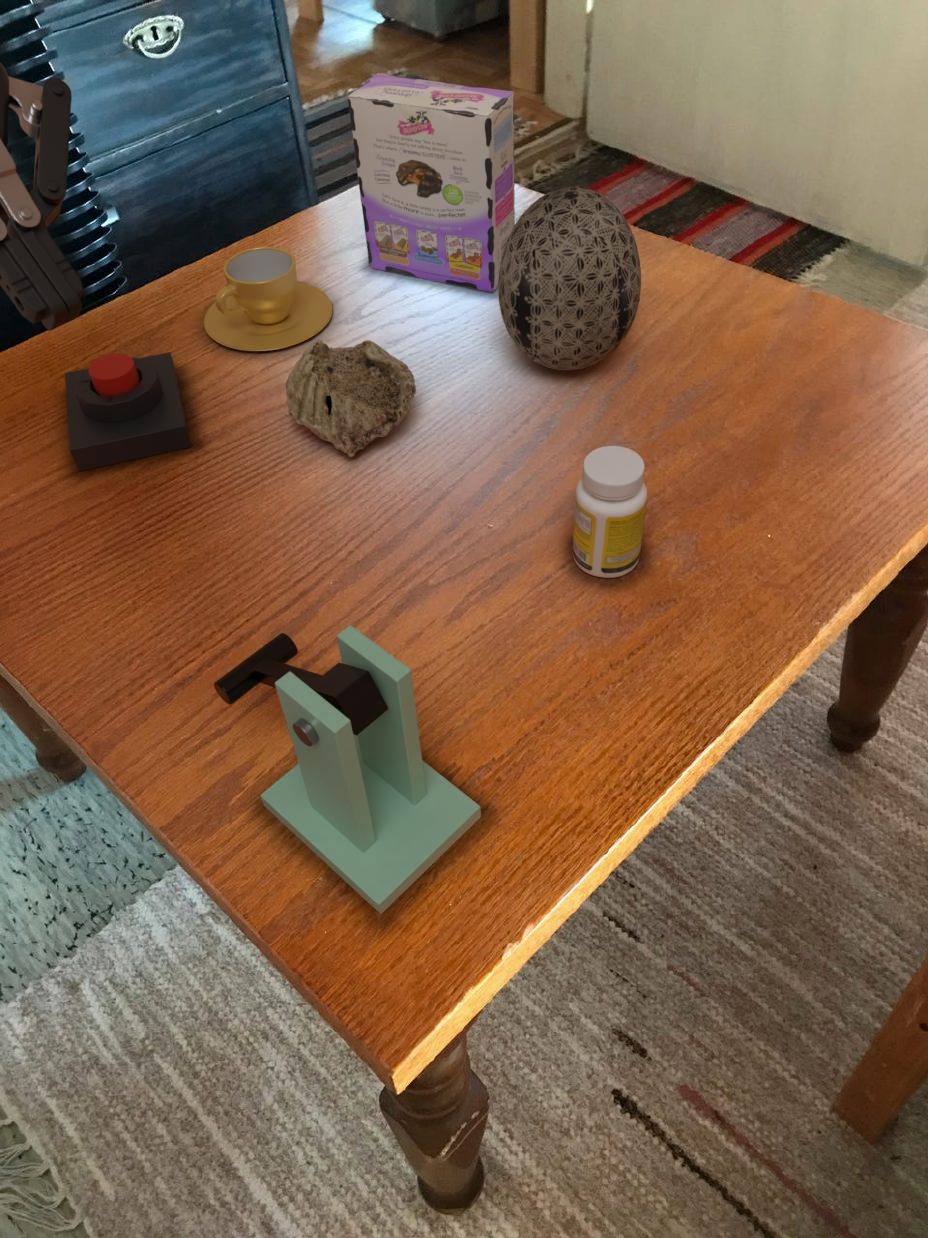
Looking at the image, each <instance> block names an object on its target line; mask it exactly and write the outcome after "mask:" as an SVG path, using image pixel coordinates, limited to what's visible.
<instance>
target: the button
mask: <svg viewBox="0 0 928 1238" xmlns="http://www.w3.org/2000/svg"><path fill="white" fill-rule="evenodd" d="M131 357H132V356H130V355H128V354H125V353H122V352H121V353H120V352H119V353H117V352H116V353H108V354H105V355H102V356H100V357H98V358H96V359H94V360H93V361H92V362H91V363H90V365H89V366H88V368H89V369H88V368H87V369H88V372H89V375H90V378H91V380H92V383H93V385H94V388H95V390H96V392H97V393H98V394H100V395H105V396H114V395H119V394H124V393H126V392H128V391H130V390H132V389H133V388H135V387H137V386H138V384H139V375H138V372H137V370H136V367H135V364H134V361H133V359H132V358H133V357H132V358H131Z"/></svg>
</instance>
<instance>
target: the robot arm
mask: <svg viewBox="0 0 928 1238" xmlns="http://www.w3.org/2000/svg"><path fill="white" fill-rule="evenodd" d="M10 109H12V110H13V111H14V112H15V114H17V116H18V119H19V125H20V128H21V129H22V131H23V132H25V133H26V135H27V136H28V137H30V138H32V139H34V138H35V151H34V152H35V153H34V171H33V187H32V188H31V189H30V190H29V191H28V189H27V188H26V186H25V184H24V183H23V181H22V179H21V178H20V176H19V173H18V169H17V165H16V163H15V161H14V159H13V157H12V155H11V153H10V151H8V147H9V146H8V145H9V125H10V124H9V123H10V122H9V121H10V119H9V117H10V114H9V113H10ZM71 113H72V90H71V87H70V86H69V85H68V83H67V82H65V81H64V80H62V79H60V78H57V77H50V78H48V79H46V80H45V81H44V83H43V86H42V85H40V84H36V83H32V82H30V81H26V80H23V79H19V78H16V77H12V76H10V75H8V72H7V70H6V68H5V66H4V65H3V64H2V63H1V62H0V286H1V288H2V290H3V291H4V292H5V294H6V295H7V296H8V297H9V299H10V301H11V302H12V303H13V304H14V306H15V307H16V309H17V310H18V312H19V313H20V315H21V316H22V317H23V318H24V319H26V320H27V321H28V322H30V323H31V324H33V325H35V324H38V323H39V322H41V324H42V325H43V326H44V328H45V329H46V330H48V331H49V332H52V331H53V330H55V329H58V328H60V327H62V326H63V325H66V324H68V323H69V322H72V321H74V320H76V319H78V318H79V315H80V313H81V310H82V308H83V303H82V300H81V299H82V295H83V292H84V287H83V283H82V279H81V278H80V276H79V275H78V273H77V271H76V270H75V268H73V266H72V264H71V263H70V261H68V259H67V258H66V255H64V253H63V252H62V250H61V249H60V248H59V246H58V244H57V243H56V242H55V240H54V239H53V237H52V236H51V233H49V231H48V229H47V228H48V227H49V225H54V224H55V223H57V222H58V221H59V218H60V216H61V212H62V204H63V202H64V201H65V198H66V194H67V188H68V169H69V151H70V150H69V149H70V132H71V131H70V129H71Z"/></svg>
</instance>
